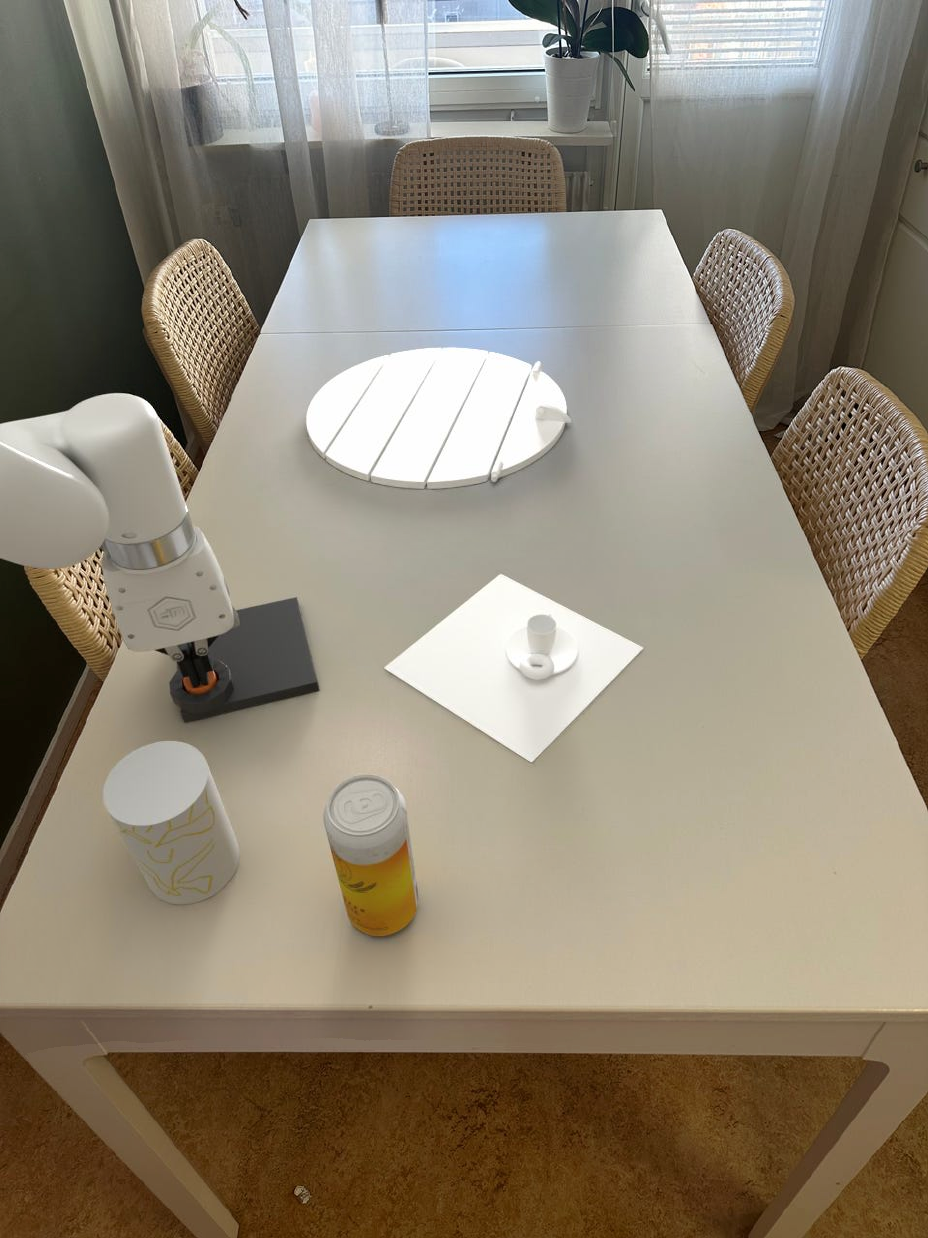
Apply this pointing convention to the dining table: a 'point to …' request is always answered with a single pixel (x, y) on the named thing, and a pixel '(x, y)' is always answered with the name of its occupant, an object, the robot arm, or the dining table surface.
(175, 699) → the scale
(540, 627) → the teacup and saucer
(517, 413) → the lazy susan
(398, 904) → the beer can
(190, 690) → the power button
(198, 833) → the cup
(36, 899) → the dining table surface
